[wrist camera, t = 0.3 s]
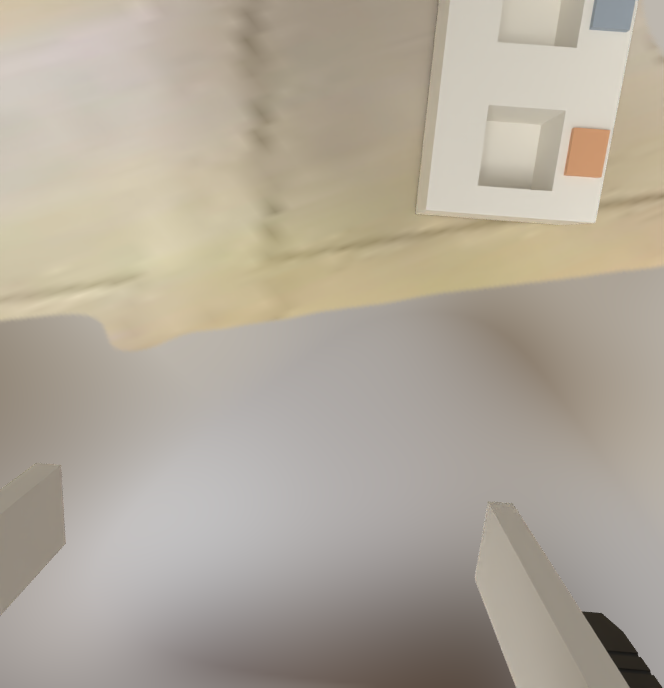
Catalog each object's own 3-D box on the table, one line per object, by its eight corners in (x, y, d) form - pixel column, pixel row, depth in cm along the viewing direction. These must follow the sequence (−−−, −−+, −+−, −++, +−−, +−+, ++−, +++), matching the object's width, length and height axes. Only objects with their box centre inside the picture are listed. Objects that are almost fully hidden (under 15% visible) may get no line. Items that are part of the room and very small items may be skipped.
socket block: (443, -42, 34) (462, -94, 28) (608, -30, 34) (657, -80, 28) (415, 213, 38) (426, 209, 32) (562, 225, 38) (598, 222, 32)
